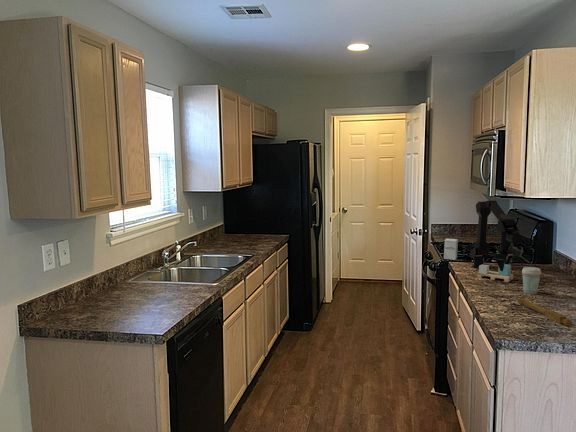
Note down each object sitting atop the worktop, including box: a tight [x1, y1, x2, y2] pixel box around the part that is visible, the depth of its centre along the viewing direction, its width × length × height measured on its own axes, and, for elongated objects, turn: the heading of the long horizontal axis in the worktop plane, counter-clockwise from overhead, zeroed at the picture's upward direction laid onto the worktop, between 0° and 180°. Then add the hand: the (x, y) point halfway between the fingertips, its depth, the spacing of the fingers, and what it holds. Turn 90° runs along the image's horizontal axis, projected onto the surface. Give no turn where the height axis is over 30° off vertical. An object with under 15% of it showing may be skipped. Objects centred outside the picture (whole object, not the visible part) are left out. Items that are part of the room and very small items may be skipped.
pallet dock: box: [476, 270, 514, 283], centre depth 259 cm, size 9×16×2 cm, turn 49°
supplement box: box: [443, 237, 459, 261], centre depth 308 cm, size 7×7×13 cm
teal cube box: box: [497, 264, 512, 276], centre depth 258 cm, size 5×5×5 cm
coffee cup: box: [521, 266, 542, 295], centre depth 231 cm, size 8×8×12 cm
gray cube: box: [478, 264, 490, 274], centre depth 261 cm, size 4×4×4 cm
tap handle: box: [517, 297, 572, 327], centre depth 201 cm, size 3×3×30 cm
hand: (504, 269), depth 258 cm, fingers open, 9 cm apart
